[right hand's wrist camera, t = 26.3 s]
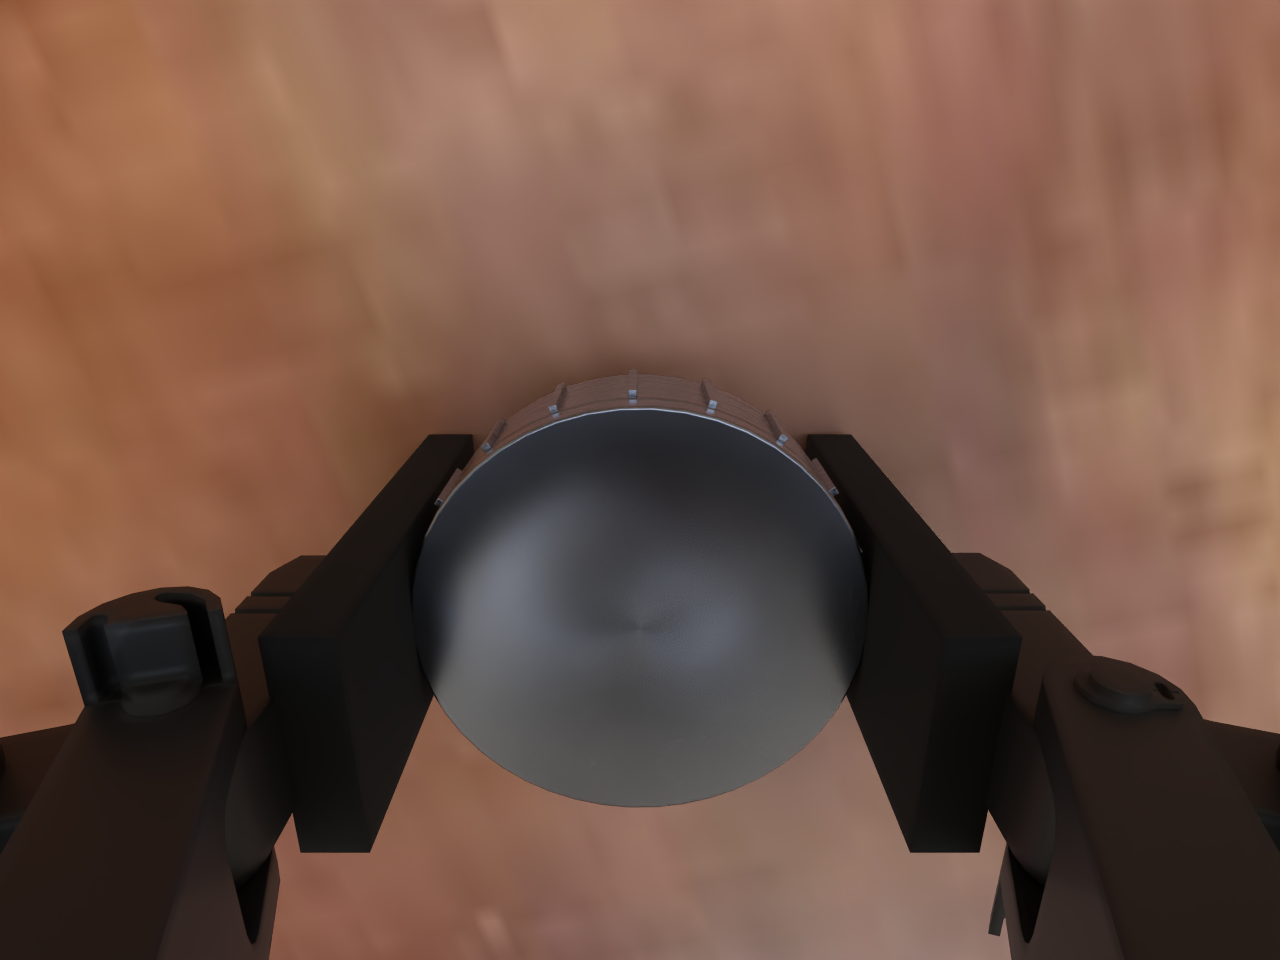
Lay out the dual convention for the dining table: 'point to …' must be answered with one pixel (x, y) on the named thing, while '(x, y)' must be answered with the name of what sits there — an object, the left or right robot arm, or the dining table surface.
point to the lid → (639, 593)
